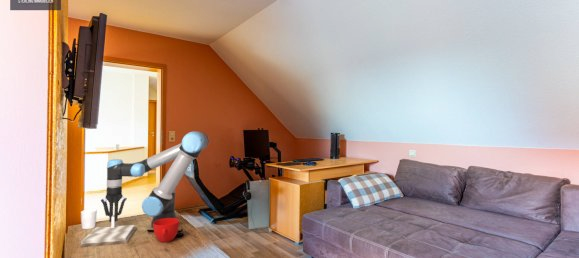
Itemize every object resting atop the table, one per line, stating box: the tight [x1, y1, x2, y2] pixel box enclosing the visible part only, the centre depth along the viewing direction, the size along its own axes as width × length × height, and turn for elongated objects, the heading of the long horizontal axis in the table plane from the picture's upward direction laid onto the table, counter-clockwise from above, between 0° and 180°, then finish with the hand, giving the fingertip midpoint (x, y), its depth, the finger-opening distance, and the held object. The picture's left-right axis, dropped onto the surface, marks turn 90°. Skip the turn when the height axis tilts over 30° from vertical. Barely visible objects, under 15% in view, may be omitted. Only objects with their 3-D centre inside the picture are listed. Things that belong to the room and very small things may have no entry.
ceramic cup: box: [153, 218, 180, 243], centre depth 156 cm, size 13×17×10 cm
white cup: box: [80, 208, 98, 230], centre depth 175 cm, size 8×8×10 cm
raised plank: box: [89, 224, 135, 234], centre depth 165 cm, size 20×10×2 cm, turn 106°
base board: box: [77, 226, 137, 248], centre depth 160 cm, size 22×22×3 cm
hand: (113, 227), depth 167 cm, fingers closed
